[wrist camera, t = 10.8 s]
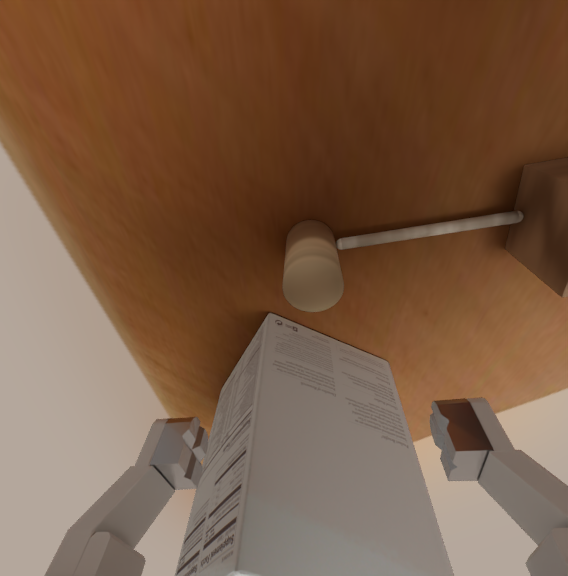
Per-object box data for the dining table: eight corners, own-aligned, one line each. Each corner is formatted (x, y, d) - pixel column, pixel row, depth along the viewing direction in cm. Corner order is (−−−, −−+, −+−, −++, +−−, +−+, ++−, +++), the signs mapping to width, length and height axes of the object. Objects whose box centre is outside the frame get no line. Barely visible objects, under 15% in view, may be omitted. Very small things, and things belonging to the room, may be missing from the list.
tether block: (278, 208, 22) (272, 248, 17) (633, 145, 18) (754, 171, 14) (293, 278, 25) (292, 329, 20) (596, 235, 22) (683, 283, 17)
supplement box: (217, 390, 34) (156, 624, 19) (268, 308, 27) (231, 576, 13) (322, 426, 37) (335, 651, 22) (391, 360, 30) (476, 624, 16)
